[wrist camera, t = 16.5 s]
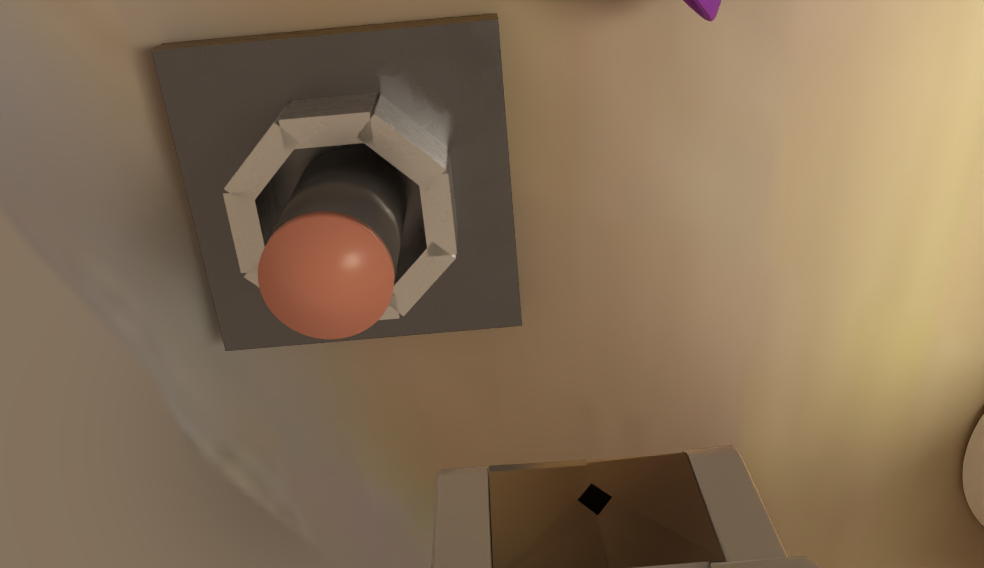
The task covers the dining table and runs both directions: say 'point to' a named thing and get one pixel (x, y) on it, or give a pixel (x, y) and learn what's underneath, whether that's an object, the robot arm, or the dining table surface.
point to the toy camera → (705, 8)
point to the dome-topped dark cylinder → (336, 246)
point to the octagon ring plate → (361, 125)
